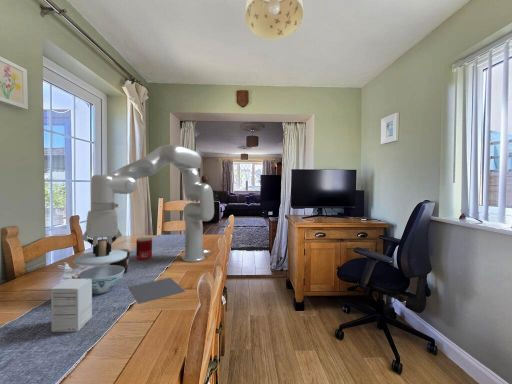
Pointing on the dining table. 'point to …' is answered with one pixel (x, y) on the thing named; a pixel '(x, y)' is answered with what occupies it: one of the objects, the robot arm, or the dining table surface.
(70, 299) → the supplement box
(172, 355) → the dining table surface
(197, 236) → the robot arm
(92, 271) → the chinaware
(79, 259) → the lid
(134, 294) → the mat
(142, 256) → the canned food
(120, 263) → the coffee mug
